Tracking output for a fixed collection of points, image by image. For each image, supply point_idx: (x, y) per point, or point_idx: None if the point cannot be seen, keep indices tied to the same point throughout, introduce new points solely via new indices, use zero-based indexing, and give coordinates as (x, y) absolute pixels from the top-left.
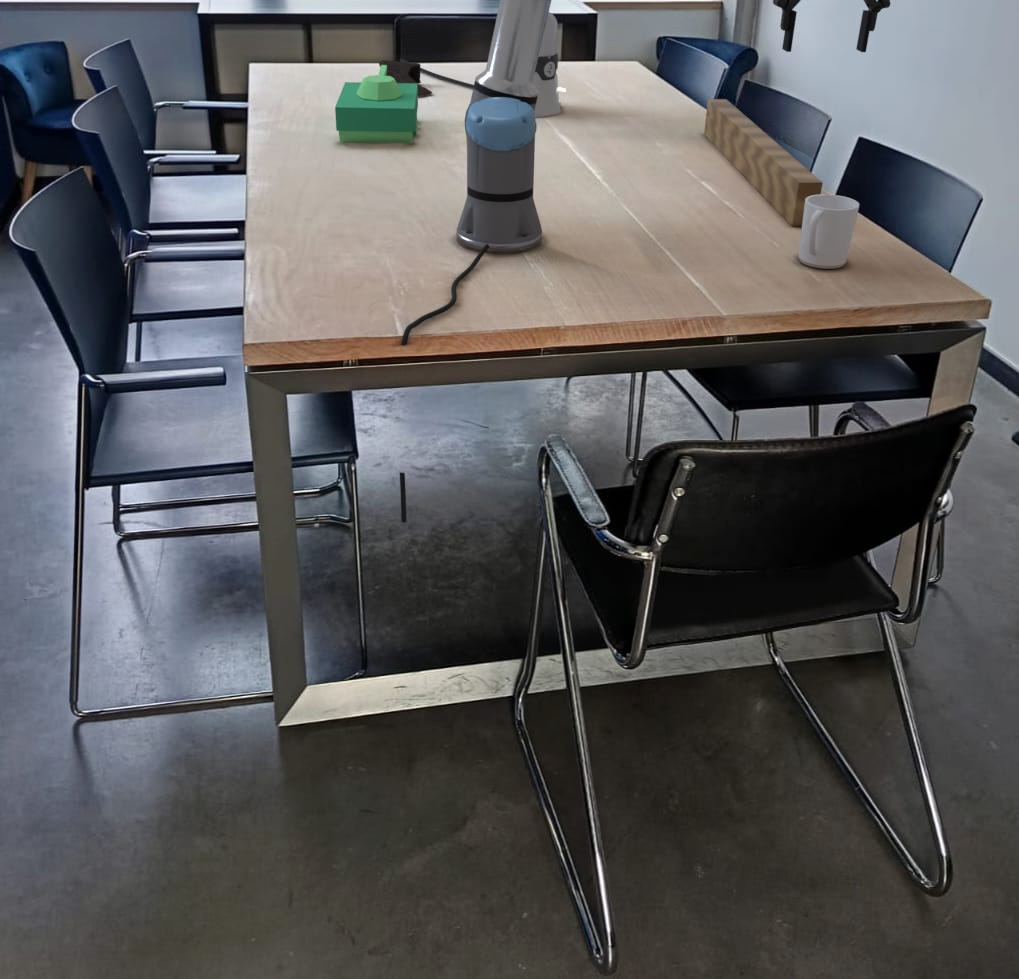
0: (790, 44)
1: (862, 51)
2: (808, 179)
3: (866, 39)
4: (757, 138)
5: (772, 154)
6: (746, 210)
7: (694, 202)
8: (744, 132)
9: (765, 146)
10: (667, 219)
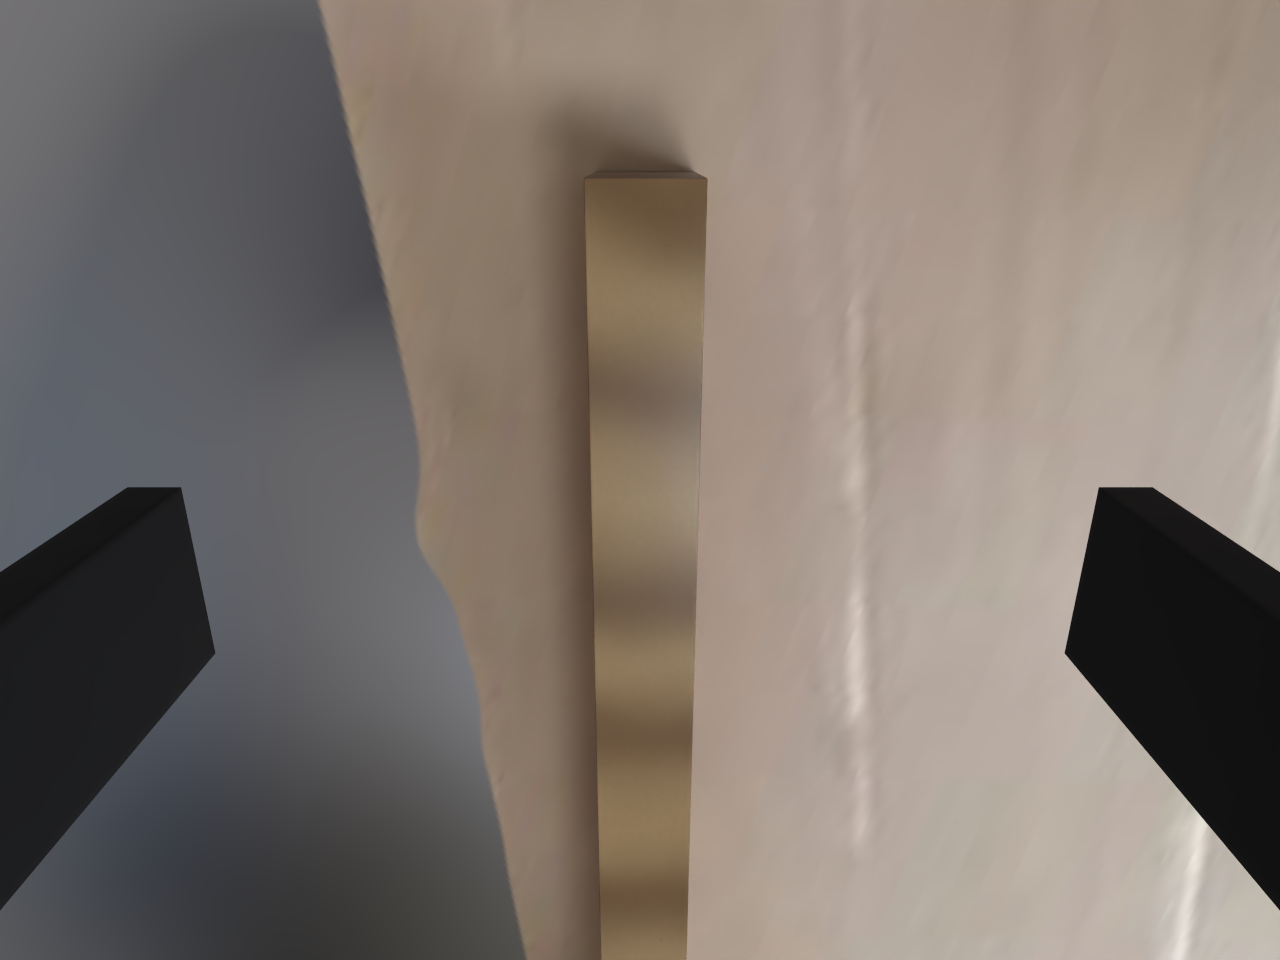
0: (1170, 519)
1: (167, 488)
2: (640, 232)
3: (51, 553)
4: (660, 864)
5: (675, 644)
6: (808, 388)
7: (976, 489)
8: (686, 940)
9: (665, 758)
10: (1170, 282)
